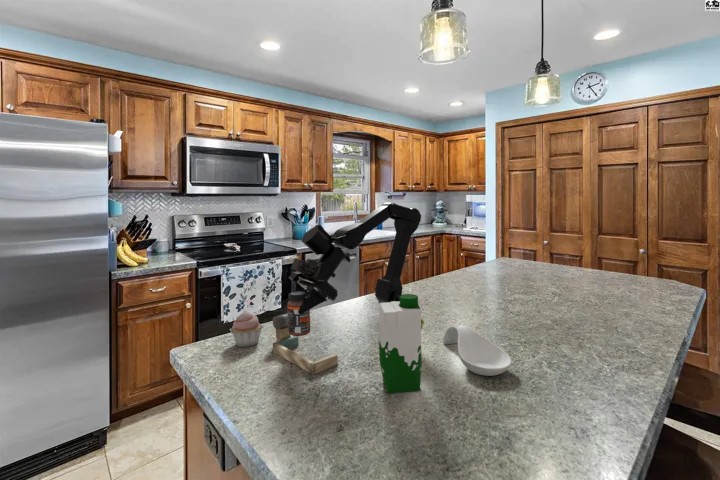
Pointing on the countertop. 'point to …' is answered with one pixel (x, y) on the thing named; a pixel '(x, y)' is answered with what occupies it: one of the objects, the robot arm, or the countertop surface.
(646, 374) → the countertop surface
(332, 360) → the frame
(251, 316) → the cupcake
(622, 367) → the countertop surface
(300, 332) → the supplement bottle
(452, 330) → the spoon rest
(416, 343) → the milk carton
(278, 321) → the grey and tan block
